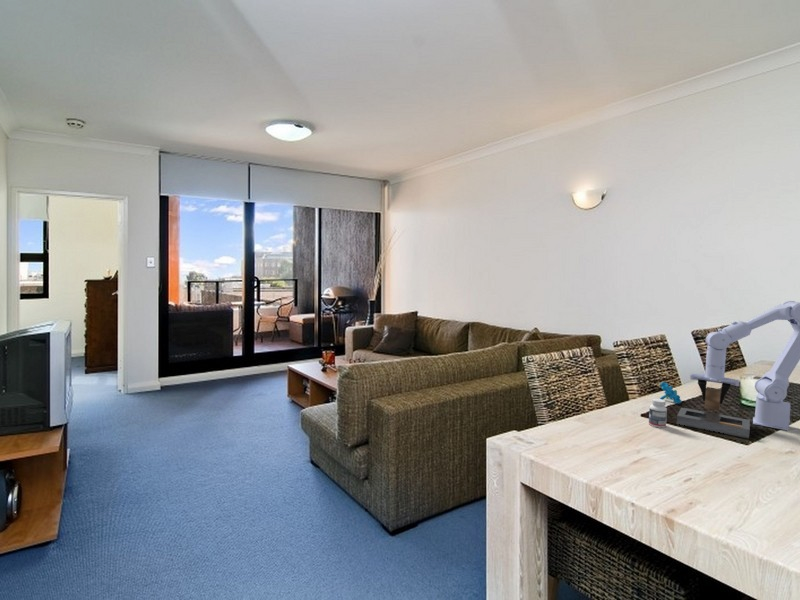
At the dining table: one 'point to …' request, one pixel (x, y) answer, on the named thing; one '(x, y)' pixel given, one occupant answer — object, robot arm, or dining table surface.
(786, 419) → the robot arm
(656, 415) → the pill bottle
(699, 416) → the rail block
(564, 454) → the dining table surface
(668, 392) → the gear
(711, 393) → the walnut block
